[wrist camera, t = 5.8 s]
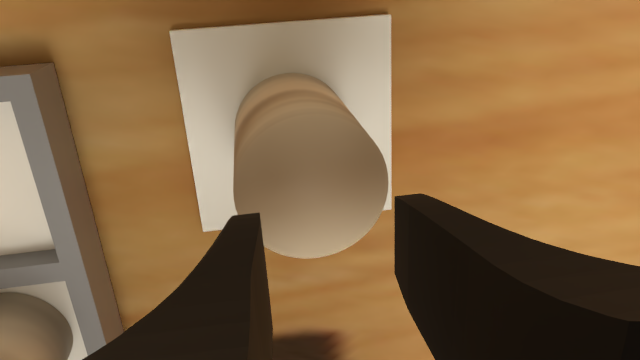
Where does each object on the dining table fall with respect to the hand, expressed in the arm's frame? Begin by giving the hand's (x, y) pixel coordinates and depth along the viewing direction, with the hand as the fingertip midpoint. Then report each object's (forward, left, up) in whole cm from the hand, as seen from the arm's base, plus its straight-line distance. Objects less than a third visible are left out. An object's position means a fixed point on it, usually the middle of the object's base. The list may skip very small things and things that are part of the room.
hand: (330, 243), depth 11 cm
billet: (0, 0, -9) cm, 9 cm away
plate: (0, 0, -9) cm, 9 cm away
